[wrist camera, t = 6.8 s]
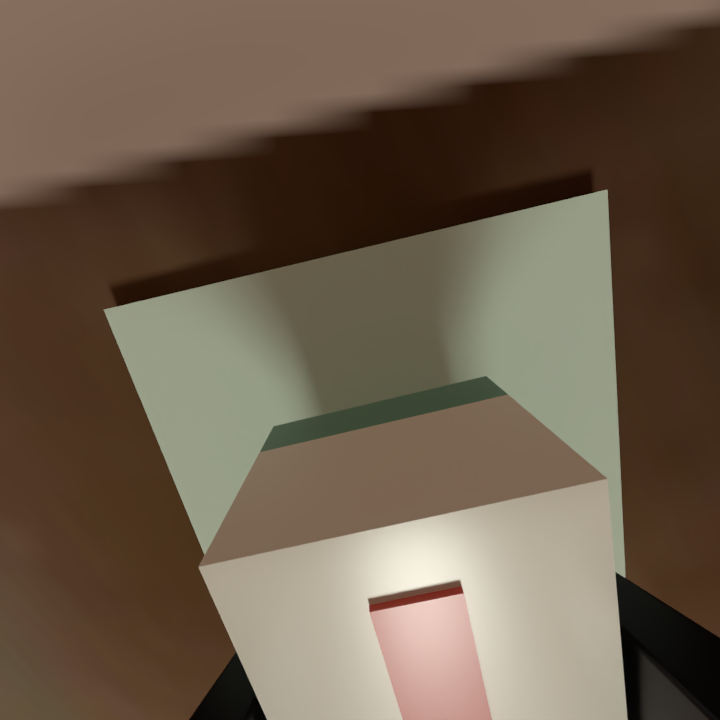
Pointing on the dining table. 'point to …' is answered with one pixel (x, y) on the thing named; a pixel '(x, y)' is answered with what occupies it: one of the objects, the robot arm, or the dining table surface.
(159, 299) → the mat
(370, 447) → the mahjong tile
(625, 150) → the dining table surface
